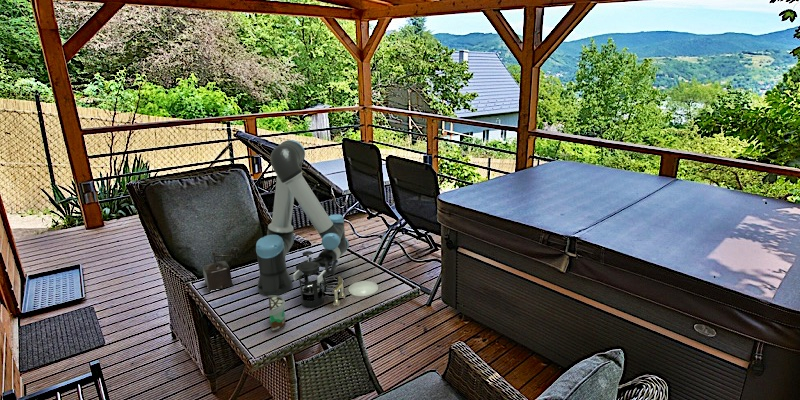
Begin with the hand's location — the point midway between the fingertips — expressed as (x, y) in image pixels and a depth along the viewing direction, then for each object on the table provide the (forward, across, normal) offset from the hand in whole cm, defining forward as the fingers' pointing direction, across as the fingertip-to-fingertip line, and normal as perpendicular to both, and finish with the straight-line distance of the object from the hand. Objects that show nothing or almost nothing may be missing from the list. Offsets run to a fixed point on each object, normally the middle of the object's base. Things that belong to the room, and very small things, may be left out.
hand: (306, 278), depth 182 cm
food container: (+14, +6, -13) cm, 20 cm away
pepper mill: (-10, +48, -13) cm, 51 cm away
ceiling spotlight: (-10, -9, -13) cm, 19 cm away
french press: (-4, 0, -13) cm, 14 cm away
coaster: (-19, -17, -13) cm, 28 cm away
